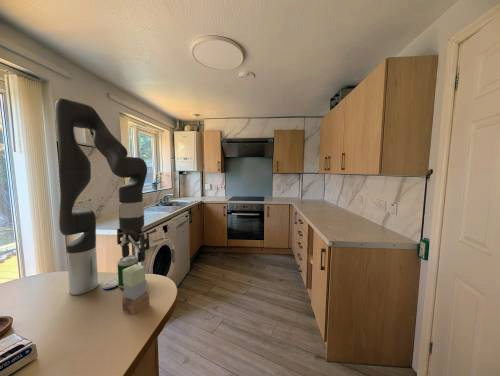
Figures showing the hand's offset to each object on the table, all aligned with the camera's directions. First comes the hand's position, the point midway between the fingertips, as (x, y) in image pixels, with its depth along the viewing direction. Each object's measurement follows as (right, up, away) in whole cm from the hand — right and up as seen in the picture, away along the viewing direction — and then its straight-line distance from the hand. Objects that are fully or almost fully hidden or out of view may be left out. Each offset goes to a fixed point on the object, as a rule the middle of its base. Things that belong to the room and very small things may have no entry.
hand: (133, 258), depth 70 cm
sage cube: (0, -8, 0) cm, 8 cm away
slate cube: (0, -13, +1) cm, 13 cm away
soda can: (-11, -17, +16) cm, 26 cm away
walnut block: (0, -18, +2) cm, 18 cm away
